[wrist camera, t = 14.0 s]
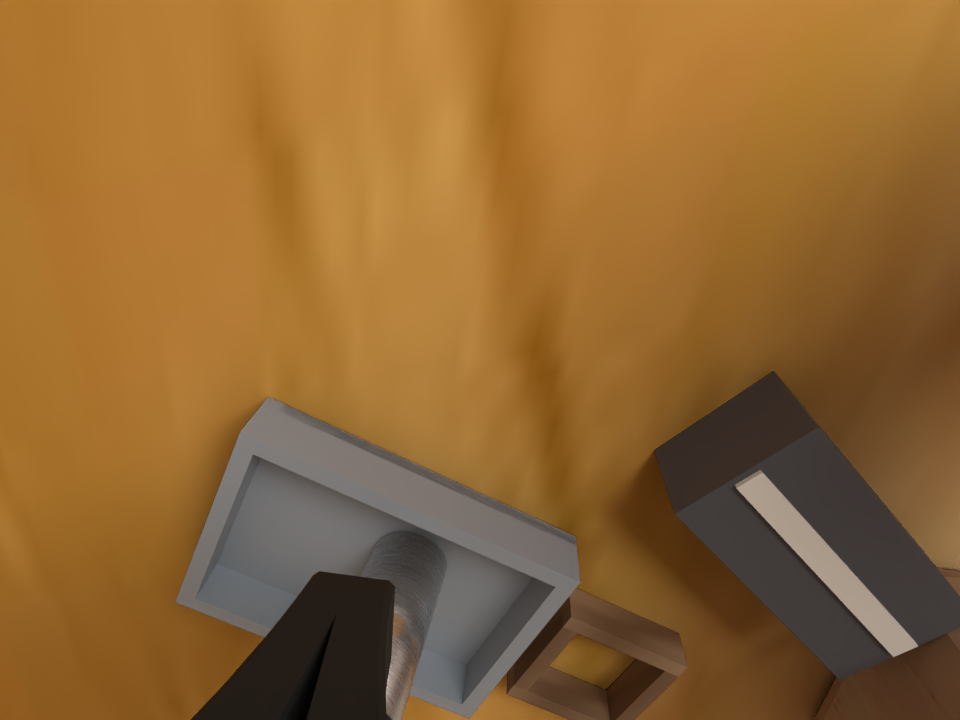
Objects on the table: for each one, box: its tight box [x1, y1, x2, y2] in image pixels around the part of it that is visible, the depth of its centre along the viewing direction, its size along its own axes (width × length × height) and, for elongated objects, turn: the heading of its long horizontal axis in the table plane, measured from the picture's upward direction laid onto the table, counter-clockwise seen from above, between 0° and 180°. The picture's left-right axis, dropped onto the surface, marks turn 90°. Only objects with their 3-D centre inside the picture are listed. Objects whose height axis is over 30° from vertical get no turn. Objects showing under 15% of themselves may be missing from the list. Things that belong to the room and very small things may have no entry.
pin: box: [361, 531, 447, 720], centre depth 19 cm, size 3×3×7 cm
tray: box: [176, 397, 580, 718], centre depth 22 cm, size 12×8×2 cm
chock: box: [654, 371, 960, 680], centre depth 19 cm, size 9×4×4 cm, turn 43°
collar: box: [507, 588, 688, 720], centre depth 24 cm, size 5×5×2 cm
